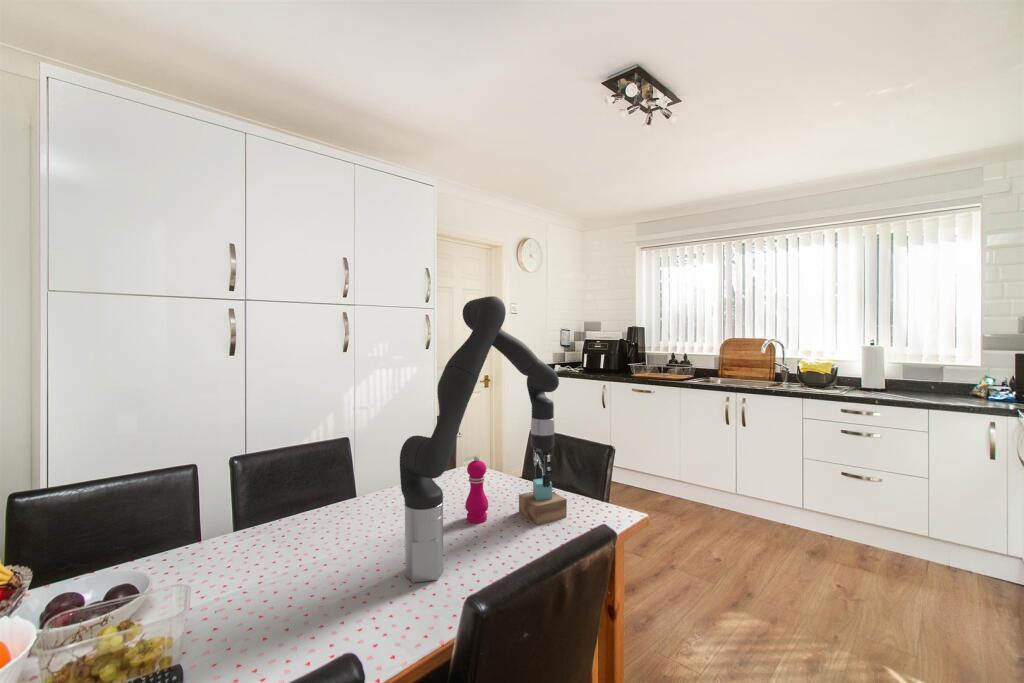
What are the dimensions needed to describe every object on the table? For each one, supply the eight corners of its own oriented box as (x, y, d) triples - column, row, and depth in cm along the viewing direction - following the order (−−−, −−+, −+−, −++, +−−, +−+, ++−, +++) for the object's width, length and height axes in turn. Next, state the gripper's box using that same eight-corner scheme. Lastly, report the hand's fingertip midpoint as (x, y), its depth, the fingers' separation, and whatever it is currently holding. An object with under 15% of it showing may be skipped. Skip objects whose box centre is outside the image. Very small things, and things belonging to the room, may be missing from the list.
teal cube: (552, 499, 146) (552, 483, 146) (536, 500, 145) (536, 484, 145) (548, 493, 151) (548, 478, 151) (533, 494, 150) (533, 479, 150)
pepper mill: (490, 515, 148) (489, 453, 147) (486, 524, 140) (486, 459, 140) (467, 514, 148) (467, 452, 148) (463, 523, 141) (462, 458, 140)
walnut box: (566, 518, 146) (566, 499, 146) (537, 525, 140) (537, 506, 140) (547, 506, 155) (547, 488, 155) (518, 512, 150) (518, 494, 150)
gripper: (560, 436, 141) (560, 489, 141) (547, 426, 155) (547, 474, 155) (537, 437, 139) (537, 490, 140) (525, 427, 153) (525, 476, 154)
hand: (542, 482), depth 147 cm, fingers open, 8 cm apart
